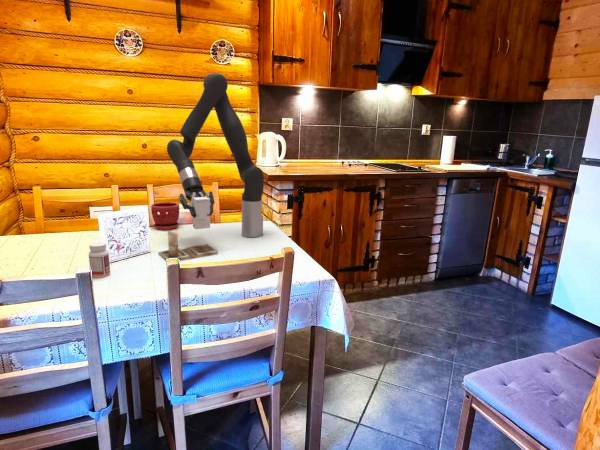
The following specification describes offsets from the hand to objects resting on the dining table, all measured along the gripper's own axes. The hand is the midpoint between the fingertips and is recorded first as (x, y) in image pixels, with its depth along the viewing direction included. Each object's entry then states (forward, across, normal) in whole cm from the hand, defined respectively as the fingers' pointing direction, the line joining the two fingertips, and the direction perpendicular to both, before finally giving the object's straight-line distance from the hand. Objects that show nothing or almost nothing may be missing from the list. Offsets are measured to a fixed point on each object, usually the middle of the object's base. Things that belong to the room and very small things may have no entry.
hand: (203, 215), depth 162 cm
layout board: (+11, -6, +13) cm, 18 cm away
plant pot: (-21, +1, +45) cm, 50 cm away
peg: (+10, -12, +12) cm, 20 cm away
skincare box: (+3, 0, +5) cm, 6 cm away
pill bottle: (+13, -39, +11) cm, 42 cm away
